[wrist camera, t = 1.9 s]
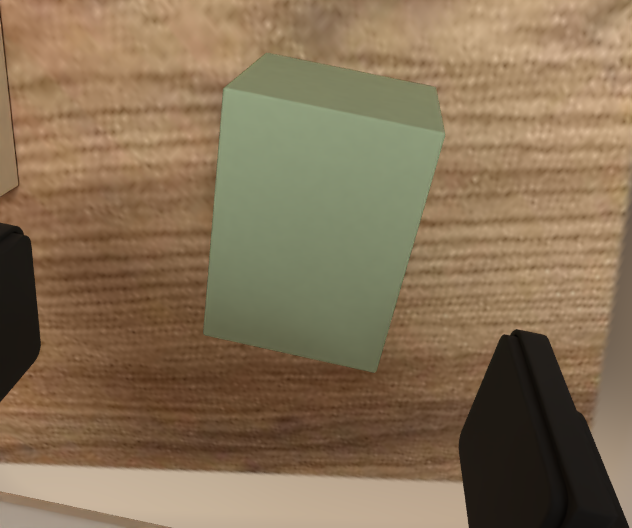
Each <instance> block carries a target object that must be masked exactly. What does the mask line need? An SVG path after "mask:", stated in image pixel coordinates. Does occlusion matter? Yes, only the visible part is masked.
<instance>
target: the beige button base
mask: <svg viewBox="0 0 632 528" xmlns="http://www.w3.org/2000/svg"><path fill="white" fill-rule="evenodd" d="M16 186H18V176H17V167H16V158H15V149H14V139H13V130H12V121H11V112H10V103H9V93H8V84H7V75H6V66H5V57H4V47H3V38H2V29H1V20H0V197H1V196H2V195H4V194H5V193H7V192H8V191H10V190H12V189H13V188H15V187H16Z"/></svg>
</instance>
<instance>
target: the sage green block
mask: <svg viewBox="0 0 632 528" xmlns="http://www.w3.org/2000/svg"><path fill="white" fill-rule="evenodd" d="M444 138H445V131H444V126H443V121H442V116H441V111H440V106H439V101H438V96H437V91H436V88H435V87H433V86H428V85H423V84H418V83H413V82H409V81H404V80H399V79H394V78H389V77H384V76H379V75H374V74H369V73H364V72H359V71H354V70H350V69H345V68H340V67H335V66H330V65H325V64H320V63H315V62H310V61H305V60H300V59H295V58H291V57H286V56H281V55H276V54H271V53H265V54H264V55H263V56H262V57H261V58H259V59H258V60H257V61H256V62H255V63H253V64H252V65H251V66H250V67H249V68H247V69H246V70H245V71H244V72H242V73H241V74H240V75H239V76H238V77H236V78H235V79H234V80H233V81H232V82H230V83H229V84H228V85H227V86H226V87H224V89H223V98H222V110H221V123H220V135H219V147H218V159H217V171H216V183H215V195H214V208H213V220H212V232H211V244H210V256H209V268H208V280H207V293H206V305H205V317H204V329H203V334H204V335H206V336H210V337H215V338H219V339H224V340H229V341H233V342H238V343H242V344H247V345H251V346H256V347H260V348H265V349H269V350H274V351H278V352H283V353H287V354H292V355H296V356H301V357H305V358H310V359H314V360H319V361H323V362H328V363H333V364H337V365H342V366H346V367H351V368H355V369H360V370H364V371H369V372H373V373H375V372H376V371H377V368H378V364H379V361H380V358H381V354H382V351H383V347H384V344H385V340H386V337H387V334H388V330H389V327H390V323H391V320H392V316H393V313H394V309H395V306H396V303H397V299H398V296H399V292H400V289H401V285H402V282H403V279H404V275H405V272H406V268H407V265H408V261H409V258H410V255H411V251H412V248H413V244H414V241H415V237H416V234H417V231H418V227H419V224H420V220H421V217H422V213H423V210H424V207H425V203H426V200H427V196H428V193H429V189H430V186H431V182H432V179H433V176H434V172H435V169H436V165H437V162H438V158H439V155H440V152H441V148H442V145H443V141H444Z"/></svg>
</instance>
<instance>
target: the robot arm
mask: <svg viewBox="0 0 632 528" xmlns="http://www.w3.org/2000/svg"><path fill="white" fill-rule="evenodd" d="M40 347H41V341H40V330H39V320H38V309H37V299H36V288H35V278H34V267H33V257H32V246H31V240H30V238H29V237H28V236H26V235H24V233H23V231H22V229H21V228H20V227H18V226H13V225H9V224H4V223H0V402H1V401H2V399H3V398H4V397H5V396H6V395H7V394H8V392H9V391H10V390H11V389H12V388H13V386H14V385H15V384H16V383H17V382H18V381H19V379H20V378H21V377H22V376H23V375H24V374H25V372H26V371H27V370H28V369H29V368H30V367H31V365H32V364H33V363H34V362H35V360H36V359H37V357H38V355H39V351H40ZM459 456H460V463H461V471H462V479H463V486H464V494H465V502H466V509H467V517H468V524H469V528H629V526H628V523H627V521H626V518H625V516H624V513H623V511H622V508H621V506H620V503H619V501H618V498H617V496H616V493H615V491H614V488H613V486H612V484H611V481H610V479H609V476H608V474H607V471H606V469H605V466H604V464H603V461H602V459H601V456H600V454H599V452H598V449H597V447H596V444H595V442H594V439H593V437H592V434H591V432H590V429H589V427H588V424H587V422H586V420H585V418H584V416H583V415H582V414H581V413H580V412H578V411H577V410H576V408H575V405H574V403H573V400H572V398H571V395H570V393H569V390H568V388H567V385H566V383H565V380H564V377H563V375H562V372H561V370H560V367H559V365H558V362H557V360H556V357H555V355H554V352H553V350H552V347H551V344H550V342H549V339H548V338H547V336H545V335H542V334H537V333H532V332H528V331H523V330H518V329H516V330H514V331H513V332H512V333H511V335H505V334H504V335H502V336H501V338H500V340H499V342H498V345H497V347H496V349H495V352H494V354H493V357H492V359H491V361H490V364H489V366H488V369H487V371H486V373H485V376H484V378H483V381H482V383H481V385H480V388H479V390H478V393H477V395H476V397H475V400H474V402H473V405H472V407H471V409H470V412H469V414H468V417H467V419H466V421H465V424H464V426H463V429H462V431H461V434H460V439H459ZM0 528H170V527H165V526H161V525H156V524H152V523H147V522H142V521H138V520H133V519H128V518H124V517H119V516H114V515H109V514H104V513H100V512H96V511H91V510H86V509H81V508H77V507H72V506H67V505H63V504H58V503H53V502H48V501H44V500H39V499H34V498H29V497H24V496H20V495H15V494H9V493H5V492H0Z"/></svg>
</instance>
